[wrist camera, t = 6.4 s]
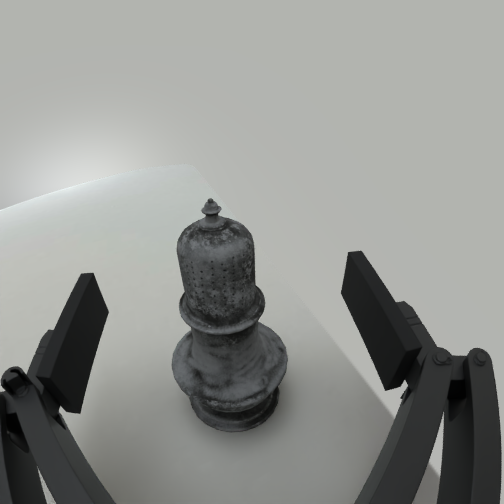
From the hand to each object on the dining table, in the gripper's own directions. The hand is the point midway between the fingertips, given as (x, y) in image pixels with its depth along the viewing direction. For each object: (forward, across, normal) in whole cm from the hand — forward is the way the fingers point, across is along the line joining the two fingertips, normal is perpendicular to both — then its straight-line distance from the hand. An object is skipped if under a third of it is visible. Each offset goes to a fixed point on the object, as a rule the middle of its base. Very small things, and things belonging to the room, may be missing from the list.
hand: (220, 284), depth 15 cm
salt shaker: (-2, 0, -7) cm, 7 cm away
